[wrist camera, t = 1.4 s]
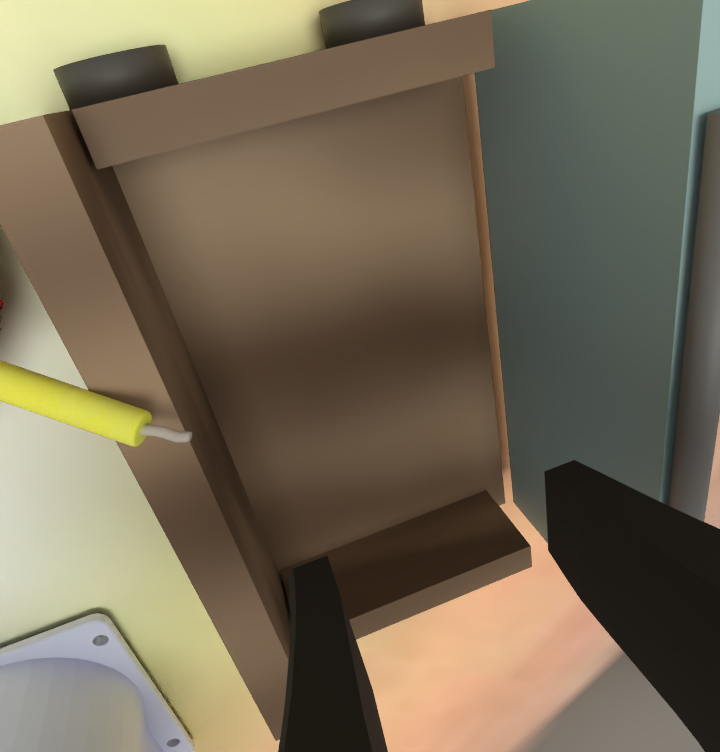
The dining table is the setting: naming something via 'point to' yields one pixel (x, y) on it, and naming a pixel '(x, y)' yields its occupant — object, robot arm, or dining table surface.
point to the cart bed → (284, 313)
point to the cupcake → (80, 407)
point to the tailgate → (606, 241)
